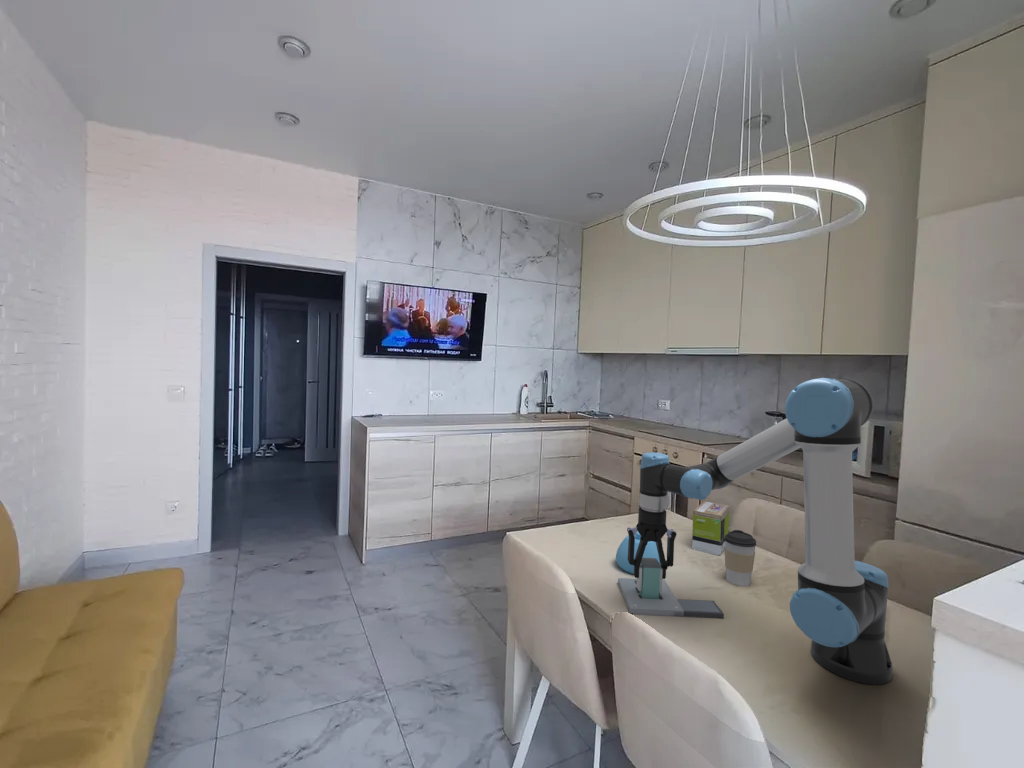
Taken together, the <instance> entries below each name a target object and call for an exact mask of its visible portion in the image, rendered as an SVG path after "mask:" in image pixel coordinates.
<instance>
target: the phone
mask: <svg viewBox="0 0 1024 768" xmlns="http://www.w3.org/2000/svg"><path fill="white" fill-rule="evenodd" d="M676 599H677V601H678V602H679V604H680V606H681V607H682V609H683V610H684V615H683V616H682V617H687V618H689V617H691V618H707V619H708V618H709V619H725V613H724V612H723V611H722V609H721V608H720V606H718V604H717V603H716V602H715V600H704V599H685V598H681V599H680V598H676ZM674 613H675V612H674ZM676 613H677V612H676ZM680 614H681V613H680Z"/></svg>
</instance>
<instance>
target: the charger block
mask: <svg viewBox="0 0 1024 768" xmlns="http://www.w3.org/2000/svg"><path fill="white" fill-rule="evenodd" d="M640 565H641V566H642V590H641V591H639V593H638V594H639V596H640V598H642V599H660V598H659V584H660V563H659V562H658V560H657V559H656V558H642V560H641V564H640Z"/></svg>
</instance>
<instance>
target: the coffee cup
mask: <svg viewBox="0 0 1024 768" xmlns="http://www.w3.org/2000/svg"><path fill="white" fill-rule="evenodd" d="M724 540H725V549H724V566H725V580H726V582H727V583H730V584H731V585H734V586H738V587H739V586H740V587H748V586H750V585H751V581H752V574H753V571H754V564H755V563H754V562H755V557H756V546H757V540H756V539H755V538H754V537H753V535H752V534H750V533H747V532H744V531H743V530H740V529H734V530H732V531H729V533H728V534H726V535H725V538H724Z"/></svg>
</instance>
